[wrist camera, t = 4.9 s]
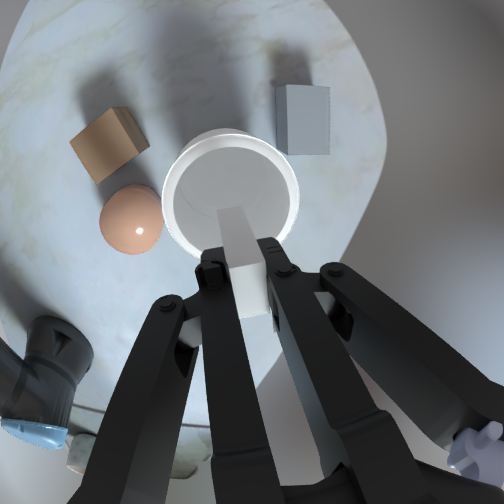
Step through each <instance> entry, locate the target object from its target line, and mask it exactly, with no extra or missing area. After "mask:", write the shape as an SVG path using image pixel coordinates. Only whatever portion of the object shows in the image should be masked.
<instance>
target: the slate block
mask: <svg viewBox="0 0 504 504" xmlns="http://www.w3.org/2000/svg"><path fill="white" fill-rule="evenodd" d="M275 100H276V132H277V149H278V150H280V151H281V152H283V153H285V154H287V155H330V87H322V86H309V85H287V84H286V85H283V86H279V87H276V88H275Z"/></svg>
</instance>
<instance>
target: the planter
mask: <svg viewBox="0 0 504 504" xmlns="http://www.w3.org/2000/svg"><path fill="white" fill-rule="evenodd" d="M95 439H96V436H93V435H90V434H78V435H77V436H75V437H74V438H73V440H72V442H71V446H70V450H69V455H68V459H67V464H66V466H67V467H68V468H69V469H71V470H72V471H74V472H76V473H79V474H81V475H84V473H85V470H86V466H87V463H88V460H89V457H90V454H91V451H92V448H93V445H94V442H95Z"/></svg>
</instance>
